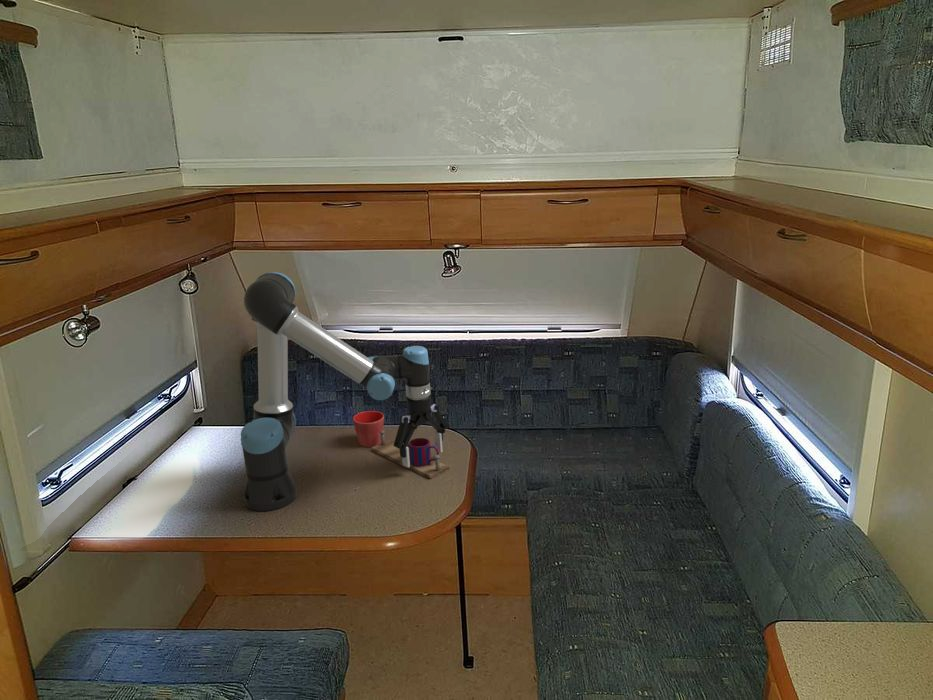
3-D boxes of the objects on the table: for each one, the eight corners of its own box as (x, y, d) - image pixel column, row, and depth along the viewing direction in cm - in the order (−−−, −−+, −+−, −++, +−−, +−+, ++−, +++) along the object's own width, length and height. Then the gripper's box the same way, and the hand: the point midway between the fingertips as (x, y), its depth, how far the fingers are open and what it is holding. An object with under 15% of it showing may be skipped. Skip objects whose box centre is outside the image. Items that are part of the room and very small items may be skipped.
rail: (372, 450, 229) (370, 434, 227) (390, 443, 234) (389, 427, 232) (430, 479, 208) (429, 461, 206) (449, 470, 213) (448, 452, 211)
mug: (418, 455, 221) (416, 436, 219) (443, 461, 216) (442, 442, 214) (406, 464, 216) (404, 444, 214) (431, 470, 211) (430, 450, 209)
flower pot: (392, 438, 238) (389, 412, 235) (375, 451, 229) (373, 424, 226) (366, 434, 242) (363, 408, 239) (349, 446, 233) (346, 420, 230)
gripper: (394, 411, 198) (399, 476, 205) (456, 387, 214) (459, 448, 221) (378, 404, 203) (384, 468, 210) (440, 382, 220) (444, 442, 226)
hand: (422, 458), depth 215 cm, fingers open, 13 cm apart
